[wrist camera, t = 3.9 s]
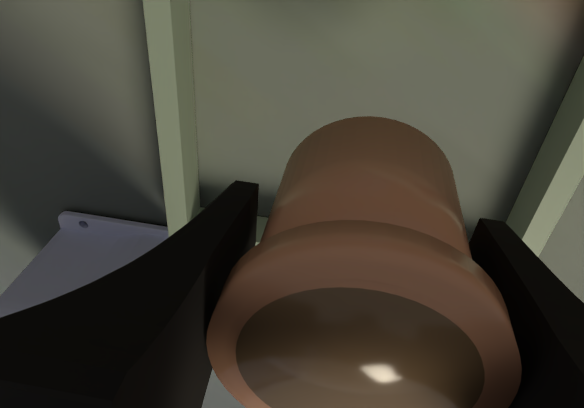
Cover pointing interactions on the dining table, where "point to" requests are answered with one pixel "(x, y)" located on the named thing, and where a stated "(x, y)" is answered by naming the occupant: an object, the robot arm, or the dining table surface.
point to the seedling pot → (364, 286)
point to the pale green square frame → (186, 205)
